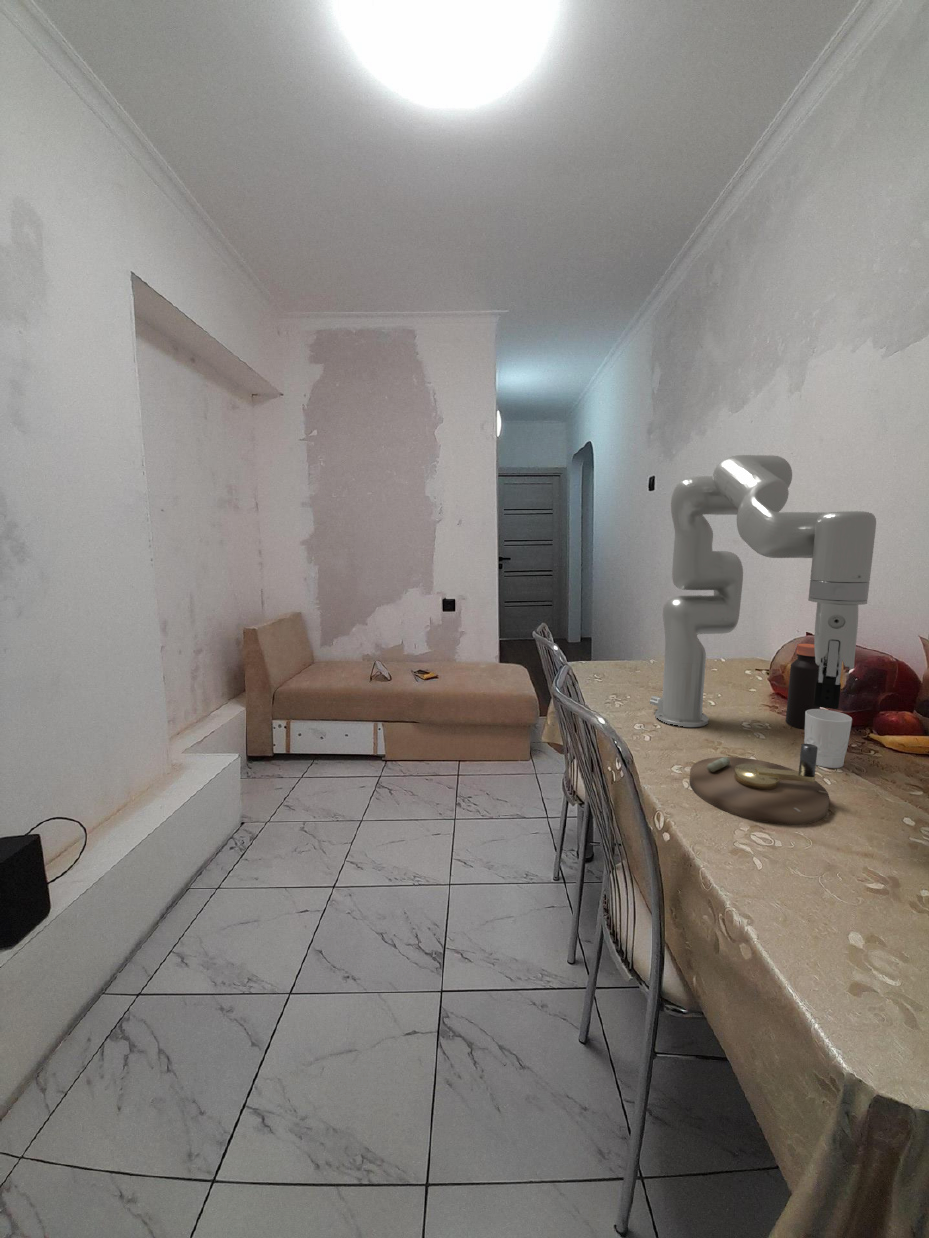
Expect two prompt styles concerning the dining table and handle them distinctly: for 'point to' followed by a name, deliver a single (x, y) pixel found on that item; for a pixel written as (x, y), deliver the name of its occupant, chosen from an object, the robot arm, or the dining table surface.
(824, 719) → the white cup
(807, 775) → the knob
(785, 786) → the base plate
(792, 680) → the bottle
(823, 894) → the dining table surface
